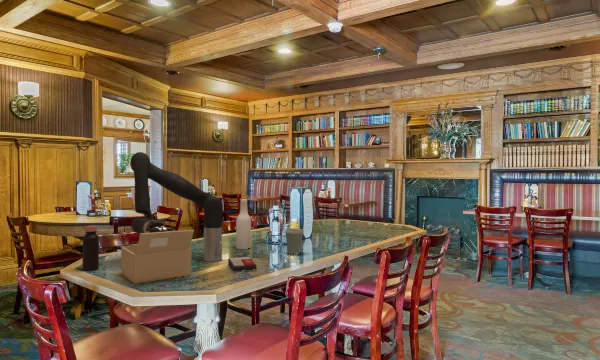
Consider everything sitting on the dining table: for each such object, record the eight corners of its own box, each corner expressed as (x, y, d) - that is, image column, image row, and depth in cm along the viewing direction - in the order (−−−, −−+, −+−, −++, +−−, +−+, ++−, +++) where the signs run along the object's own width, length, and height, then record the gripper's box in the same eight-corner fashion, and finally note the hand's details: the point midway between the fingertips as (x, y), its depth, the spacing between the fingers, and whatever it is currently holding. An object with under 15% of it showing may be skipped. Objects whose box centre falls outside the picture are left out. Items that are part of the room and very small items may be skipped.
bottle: (90, 271, 184) (90, 227, 183) (78, 270, 186) (79, 226, 186) (102, 268, 190) (102, 225, 190) (91, 267, 192) (91, 225, 192)
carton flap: (193, 229, 175) (194, 230, 175) (188, 247, 179) (189, 248, 179) (140, 233, 162) (140, 234, 161) (136, 252, 166) (136, 253, 165)
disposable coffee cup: (292, 251, 239) (292, 226, 238) (306, 254, 232) (307, 228, 232) (280, 254, 230) (281, 228, 230) (296, 257, 224) (296, 229, 223)
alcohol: (250, 249, 243) (251, 199, 242) (236, 249, 241) (236, 199, 241) (250, 247, 252) (251, 198, 251) (235, 247, 250) (236, 198, 250)
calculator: (233, 265, 187) (228, 257, 201) (233, 274, 187) (228, 265, 201) (256, 263, 191) (250, 255, 205) (256, 272, 191) (249, 264, 205)
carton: (175, 266, 196) (175, 241, 196) (191, 275, 180) (192, 248, 180) (120, 273, 181) (120, 246, 181) (133, 283, 165) (133, 254, 165)
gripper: (139, 221, 179) (151, 225, 165) (168, 219, 187) (182, 223, 173) (138, 238, 179) (150, 244, 165) (168, 236, 187) (182, 241, 173)
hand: (167, 233), depth 169 cm, fingers closed
